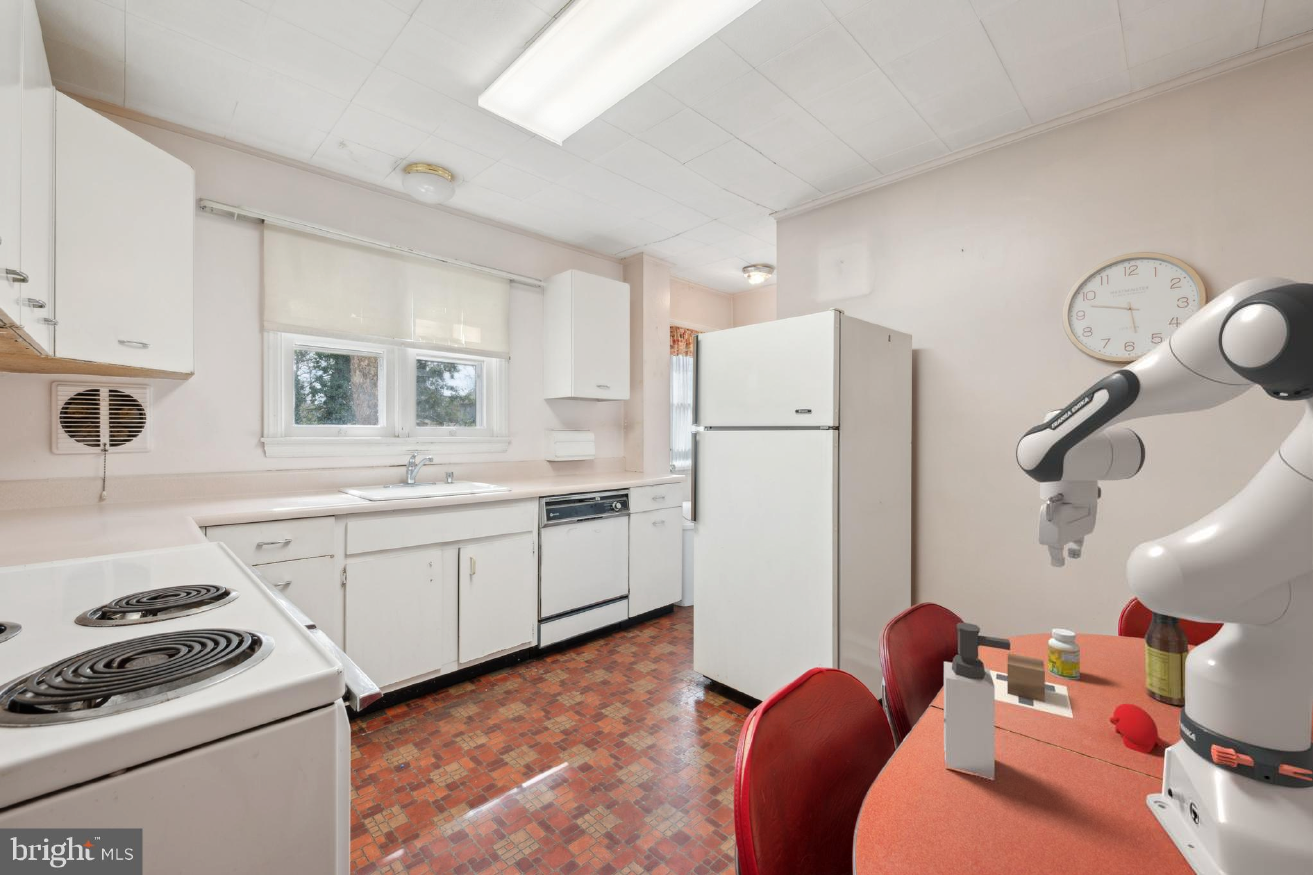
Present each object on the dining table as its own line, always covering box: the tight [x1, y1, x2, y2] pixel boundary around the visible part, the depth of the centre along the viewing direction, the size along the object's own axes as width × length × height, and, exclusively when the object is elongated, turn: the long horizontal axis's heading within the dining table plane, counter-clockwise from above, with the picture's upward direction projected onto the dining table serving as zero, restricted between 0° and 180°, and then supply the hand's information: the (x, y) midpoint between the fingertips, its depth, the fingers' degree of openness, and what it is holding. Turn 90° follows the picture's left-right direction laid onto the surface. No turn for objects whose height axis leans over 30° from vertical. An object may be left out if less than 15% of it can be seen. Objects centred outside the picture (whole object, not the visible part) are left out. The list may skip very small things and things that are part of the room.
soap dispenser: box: [943, 622, 1011, 780], centre depth 83 cm, size 6×9×22 cm
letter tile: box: [989, 669, 1074, 719], centre depth 105 cm, size 14×14×1 cm
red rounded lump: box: [1109, 703, 1164, 754], centre depth 89 cm, size 8×6×6 cm
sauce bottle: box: [1144, 611, 1190, 706], centre depth 103 cm, size 6×6×20 cm
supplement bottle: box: [1047, 628, 1081, 680], centre depth 113 cm, size 5×5×10 cm
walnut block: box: [1006, 652, 1046, 702], centre depth 105 cm, size 6×6×6 cm
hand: (1066, 561), depth 102 cm, fingers open, 8 cm apart
